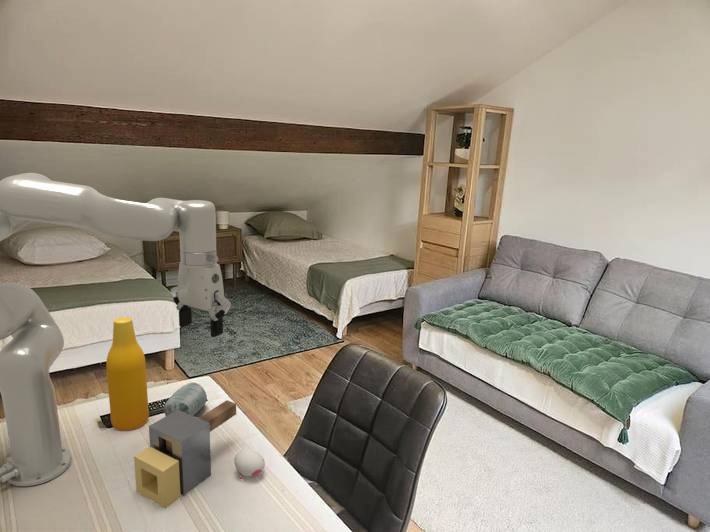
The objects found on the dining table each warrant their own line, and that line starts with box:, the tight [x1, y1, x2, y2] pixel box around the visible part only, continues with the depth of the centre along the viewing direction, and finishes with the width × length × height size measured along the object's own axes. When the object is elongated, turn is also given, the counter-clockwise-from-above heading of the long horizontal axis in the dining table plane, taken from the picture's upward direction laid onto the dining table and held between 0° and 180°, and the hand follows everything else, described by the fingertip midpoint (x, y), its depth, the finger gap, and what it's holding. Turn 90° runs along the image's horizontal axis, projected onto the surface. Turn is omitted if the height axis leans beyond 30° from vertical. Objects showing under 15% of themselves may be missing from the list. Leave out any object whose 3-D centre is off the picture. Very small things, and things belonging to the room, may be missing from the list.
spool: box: [163, 382, 208, 417], centre depth 133 cm, size 14×10×10 cm
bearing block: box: [148, 410, 212, 497], centre depth 109 cm, size 8×10×14 cm
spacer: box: [133, 446, 181, 509], centre depth 104 cm, size 4×9×9 cm, turn 61°
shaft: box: [166, 399, 237, 453], centre depth 114 cm, size 19×3×3 cm, turn 151°
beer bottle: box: [105, 316, 150, 432], centre depth 126 cm, size 9×9×29 cm
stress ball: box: [233, 448, 266, 481], centre depth 113 cm, size 8×8×7 cm
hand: (201, 330), depth 111 cm, fingers open, 9 cm apart
